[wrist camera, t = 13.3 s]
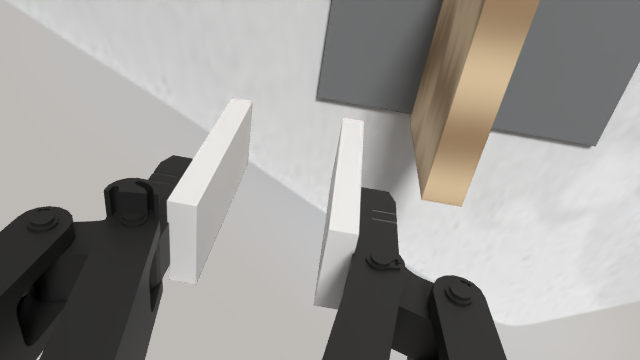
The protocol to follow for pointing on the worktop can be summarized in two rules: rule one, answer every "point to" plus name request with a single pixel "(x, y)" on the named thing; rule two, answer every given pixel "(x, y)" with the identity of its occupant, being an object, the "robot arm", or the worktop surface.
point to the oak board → (464, 90)
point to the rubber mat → (528, 75)
